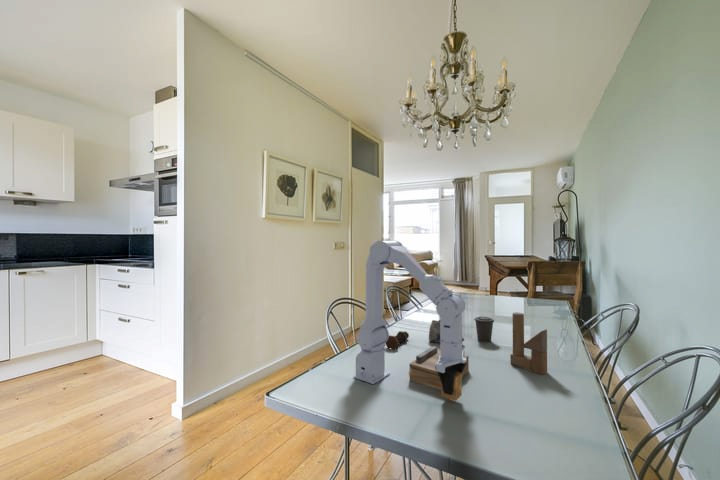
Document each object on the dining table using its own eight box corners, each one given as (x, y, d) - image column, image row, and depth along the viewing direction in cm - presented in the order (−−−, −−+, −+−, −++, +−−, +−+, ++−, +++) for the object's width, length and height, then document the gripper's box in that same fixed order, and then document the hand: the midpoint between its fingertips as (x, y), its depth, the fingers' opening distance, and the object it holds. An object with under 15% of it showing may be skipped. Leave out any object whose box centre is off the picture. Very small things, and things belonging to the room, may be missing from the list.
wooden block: (542, 375, 100) (541, 319, 100) (510, 364, 109) (509, 313, 109) (547, 372, 102) (547, 317, 102) (515, 362, 111) (515, 311, 111)
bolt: (407, 343, 138) (392, 353, 125) (398, 336, 140) (383, 344, 127) (413, 333, 136) (399, 341, 123) (404, 325, 139) (389, 333, 126)
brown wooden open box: (446, 391, 90) (446, 378, 90) (409, 380, 97) (409, 367, 97) (468, 371, 104) (468, 359, 104) (434, 362, 111) (434, 351, 111)
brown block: (455, 401, 82) (455, 378, 82) (441, 396, 84) (441, 374, 84) (461, 395, 85) (461, 372, 85) (447, 390, 87) (447, 369, 87)
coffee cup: (470, 339, 137) (470, 316, 137) (483, 336, 141) (483, 314, 141) (484, 344, 130) (484, 320, 130) (498, 341, 133) (498, 318, 133)
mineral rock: (465, 345, 130) (465, 321, 130) (447, 350, 124) (447, 324, 124) (442, 337, 141) (442, 314, 141) (424, 341, 135) (424, 318, 135)
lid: (448, 385, 89) (448, 368, 89) (409, 373, 97) (409, 358, 97) (470, 365, 103) (470, 351, 103) (434, 356, 111) (434, 343, 111)
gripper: (455, 350, 76) (455, 406, 76) (475, 336, 88) (475, 384, 88) (428, 344, 81) (428, 397, 81) (450, 331, 92) (451, 377, 92)
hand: (451, 390), depth 84 cm, fingers closed on brown block, 4 cm apart
